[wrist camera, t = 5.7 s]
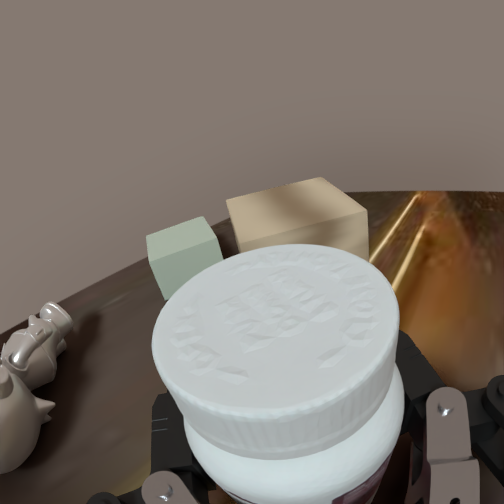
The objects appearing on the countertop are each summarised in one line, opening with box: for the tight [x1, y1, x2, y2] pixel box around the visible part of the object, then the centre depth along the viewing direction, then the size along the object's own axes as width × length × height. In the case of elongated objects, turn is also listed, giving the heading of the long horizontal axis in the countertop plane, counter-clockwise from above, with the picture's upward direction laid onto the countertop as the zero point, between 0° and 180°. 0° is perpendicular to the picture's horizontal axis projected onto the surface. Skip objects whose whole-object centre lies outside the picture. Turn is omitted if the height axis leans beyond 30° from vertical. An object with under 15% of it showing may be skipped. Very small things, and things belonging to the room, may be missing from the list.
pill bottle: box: [152, 244, 404, 504], centre depth 9 cm, size 6×6×11 cm
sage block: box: [146, 216, 223, 300], centre depth 30 cm, size 6×6×4 cm
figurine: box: [0, 301, 73, 474], centre depth 16 cm, size 11×7×15 cm
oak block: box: [226, 177, 369, 262], centre depth 26 cm, size 9×9×6 cm
